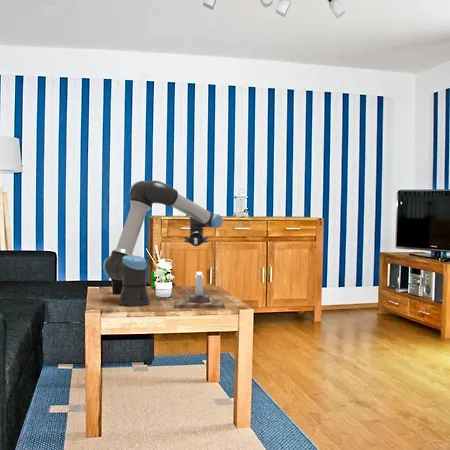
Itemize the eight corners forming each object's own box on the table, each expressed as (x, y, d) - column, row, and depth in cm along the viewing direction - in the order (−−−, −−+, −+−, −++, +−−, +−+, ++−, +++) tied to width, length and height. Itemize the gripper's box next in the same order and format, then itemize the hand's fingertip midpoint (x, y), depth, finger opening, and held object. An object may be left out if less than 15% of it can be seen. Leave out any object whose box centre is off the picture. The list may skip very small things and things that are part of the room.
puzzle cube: (173, 288, 366) (173, 271, 365) (157, 290, 361) (157, 272, 360) (166, 286, 374) (166, 270, 374) (150, 287, 369) (150, 270, 369)
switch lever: (195, 296, 307) (195, 274, 300) (195, 292, 309) (195, 271, 302) (203, 296, 307) (203, 274, 300) (203, 292, 309) (203, 271, 302)
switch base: (173, 308, 299) (173, 298, 299) (175, 302, 317) (175, 293, 317) (224, 308, 300) (224, 298, 300) (223, 302, 318) (223, 293, 318)
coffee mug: (123, 294, 340) (123, 276, 340) (108, 294, 342) (108, 276, 342) (130, 292, 352) (130, 274, 351) (116, 291, 353) (116, 273, 353)
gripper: (208, 245, 348) (208, 248, 324) (184, 245, 347) (183, 248, 324) (208, 232, 347) (208, 234, 324) (184, 232, 347) (183, 234, 323)
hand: (195, 241), depth 324 cm, fingers closed
